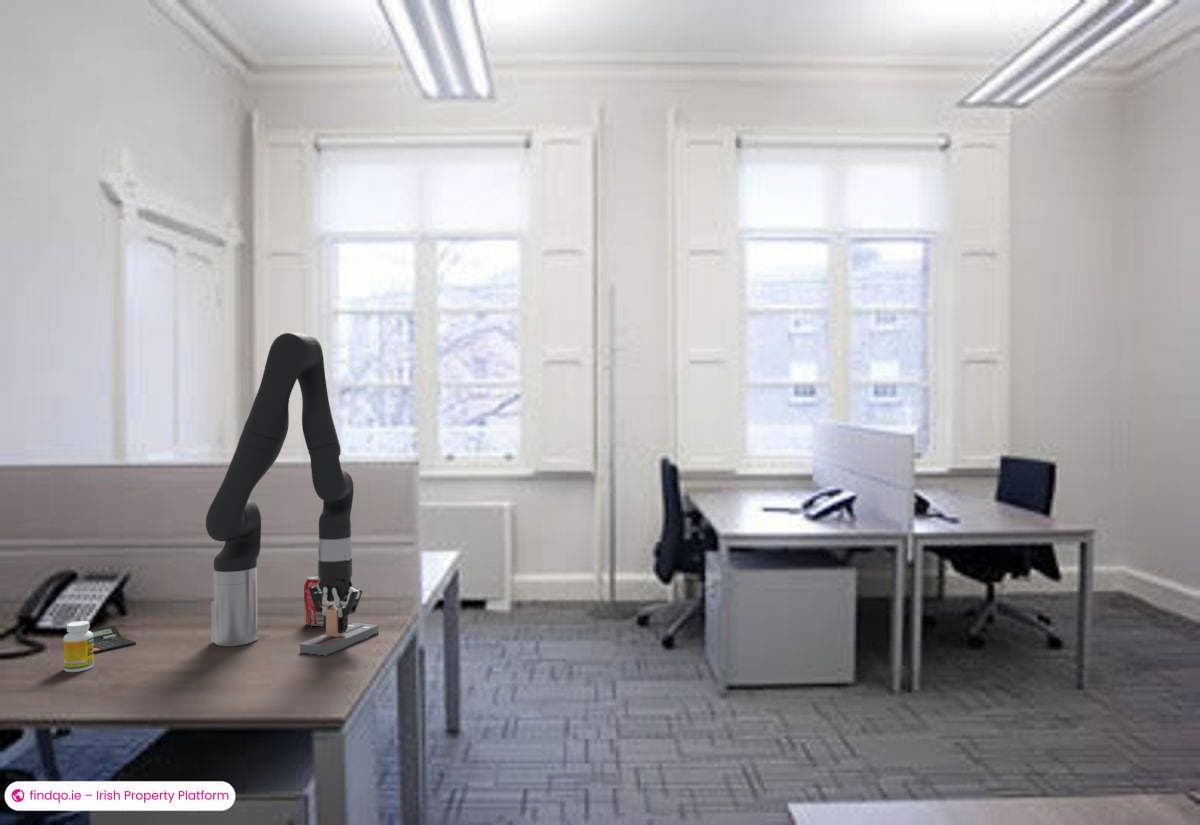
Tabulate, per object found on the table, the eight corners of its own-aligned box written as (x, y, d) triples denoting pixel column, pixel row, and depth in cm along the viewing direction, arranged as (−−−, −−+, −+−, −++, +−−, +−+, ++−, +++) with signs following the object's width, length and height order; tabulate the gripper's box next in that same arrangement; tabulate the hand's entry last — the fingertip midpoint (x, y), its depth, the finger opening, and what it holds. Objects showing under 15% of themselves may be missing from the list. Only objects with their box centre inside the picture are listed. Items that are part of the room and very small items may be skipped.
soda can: (322, 618, 213) (322, 572, 213) (339, 623, 209) (339, 575, 209) (298, 625, 207) (297, 577, 207) (315, 629, 203) (315, 580, 203)
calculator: (91, 655, 184) (91, 642, 184) (70, 646, 191) (70, 633, 191) (135, 645, 191) (135, 633, 191) (113, 637, 198) (113, 625, 198)
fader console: (300, 652, 184) (299, 643, 184) (354, 630, 202) (354, 622, 202) (325, 656, 182) (325, 646, 181) (378, 633, 199) (378, 624, 199)
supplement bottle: (65, 666, 175) (65, 621, 175) (95, 663, 178) (94, 618, 178) (61, 674, 171) (61, 628, 170) (92, 670, 173) (91, 624, 173)
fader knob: (325, 635, 189) (325, 609, 189) (334, 632, 192) (334, 606, 192) (336, 636, 188) (336, 610, 188) (345, 633, 191) (345, 607, 191)
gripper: (299, 557, 189) (300, 632, 189) (349, 561, 184) (350, 639, 184) (321, 552, 196) (322, 624, 196) (370, 555, 191) (371, 630, 191)
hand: (335, 631), depth 190 cm, fingers closed on fader knob, 3 cm apart
